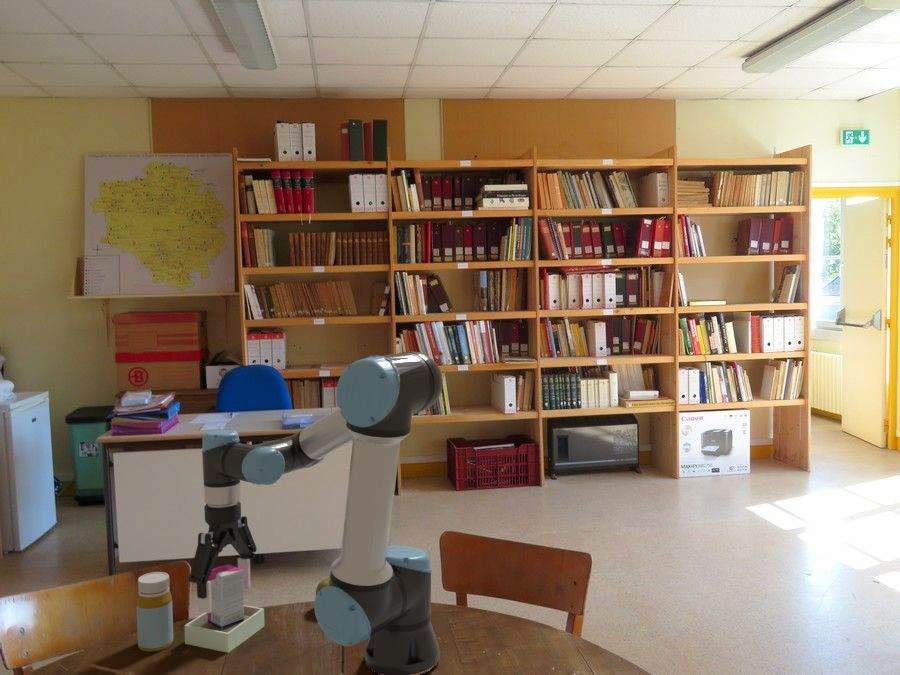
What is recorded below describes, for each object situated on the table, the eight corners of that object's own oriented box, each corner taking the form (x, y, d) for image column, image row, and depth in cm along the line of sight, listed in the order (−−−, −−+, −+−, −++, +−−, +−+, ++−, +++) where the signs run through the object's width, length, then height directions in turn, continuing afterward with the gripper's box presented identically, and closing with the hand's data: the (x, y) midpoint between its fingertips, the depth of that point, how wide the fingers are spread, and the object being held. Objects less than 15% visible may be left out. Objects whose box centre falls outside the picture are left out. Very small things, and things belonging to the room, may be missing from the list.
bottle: (161, 655, 162) (159, 585, 161) (131, 652, 164) (128, 582, 163) (179, 640, 169) (177, 572, 168) (150, 637, 171) (148, 570, 169)
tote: (264, 628, 175) (264, 608, 174) (228, 654, 163) (227, 633, 162) (223, 620, 179) (222, 601, 178) (185, 645, 167) (184, 625, 166)
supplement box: (245, 620, 171) (244, 569, 170) (221, 629, 166) (220, 577, 165) (230, 612, 175) (229, 562, 174) (206, 621, 170) (205, 570, 169)
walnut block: (250, 629, 173) (249, 616, 173) (227, 645, 166) (227, 631, 166) (223, 624, 176) (223, 611, 175) (200, 639, 168) (200, 626, 168)
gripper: (242, 486, 181) (245, 575, 183) (168, 517, 158) (172, 620, 160) (270, 489, 178) (273, 579, 180) (198, 521, 155) (202, 625, 157)
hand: (225, 599), depth 170 cm, fingers open, 13 cm apart
